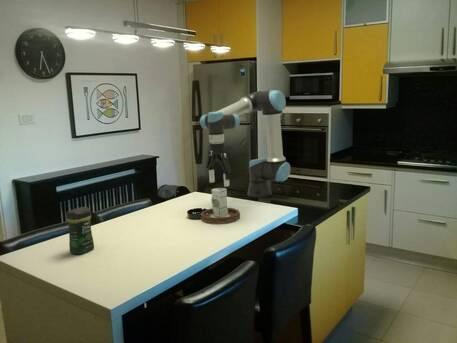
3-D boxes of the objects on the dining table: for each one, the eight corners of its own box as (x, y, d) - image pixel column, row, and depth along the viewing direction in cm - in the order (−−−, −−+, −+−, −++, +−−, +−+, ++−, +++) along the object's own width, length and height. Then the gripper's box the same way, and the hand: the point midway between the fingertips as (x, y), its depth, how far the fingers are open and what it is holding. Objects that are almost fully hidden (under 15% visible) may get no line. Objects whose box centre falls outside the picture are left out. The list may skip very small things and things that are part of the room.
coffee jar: (80, 256, 165) (75, 212, 162) (66, 253, 168) (61, 210, 165) (98, 248, 173) (93, 206, 170) (84, 246, 177) (80, 204, 174)
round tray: (225, 210, 223) (225, 205, 223) (247, 218, 207) (247, 212, 207) (194, 217, 212) (193, 212, 212) (214, 226, 196) (214, 220, 196)
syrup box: (228, 215, 210) (227, 188, 207) (220, 218, 206) (218, 190, 203) (220, 213, 214) (219, 186, 211) (212, 216, 210) (211, 189, 207)
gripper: (197, 142, 211) (200, 181, 215) (224, 145, 191) (227, 189, 195) (210, 140, 215) (212, 179, 219) (237, 143, 195) (239, 186, 199)
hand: (219, 184), depth 207 cm, fingers open, 13 cm apart
